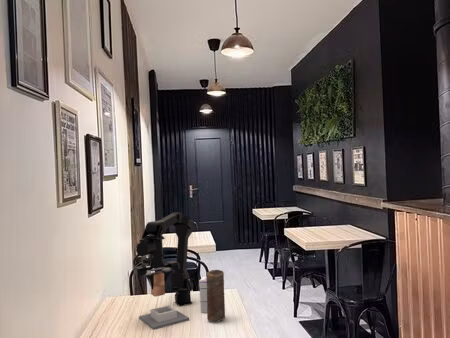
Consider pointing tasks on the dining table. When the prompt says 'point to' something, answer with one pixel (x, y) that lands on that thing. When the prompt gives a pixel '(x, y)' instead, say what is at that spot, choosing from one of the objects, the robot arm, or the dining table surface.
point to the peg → (158, 284)
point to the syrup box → (203, 294)
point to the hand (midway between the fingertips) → (157, 288)
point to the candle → (215, 295)
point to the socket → (163, 317)
